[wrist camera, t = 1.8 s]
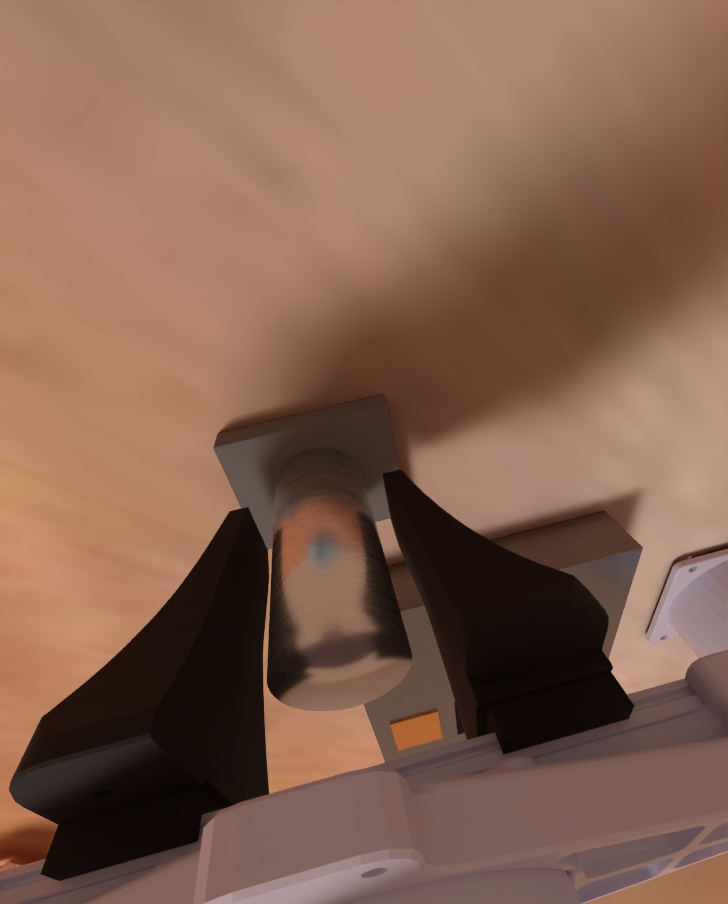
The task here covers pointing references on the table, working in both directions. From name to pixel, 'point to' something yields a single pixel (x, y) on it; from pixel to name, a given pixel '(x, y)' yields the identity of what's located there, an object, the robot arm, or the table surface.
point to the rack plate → (426, 684)
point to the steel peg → (330, 590)
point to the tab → (272, 443)
